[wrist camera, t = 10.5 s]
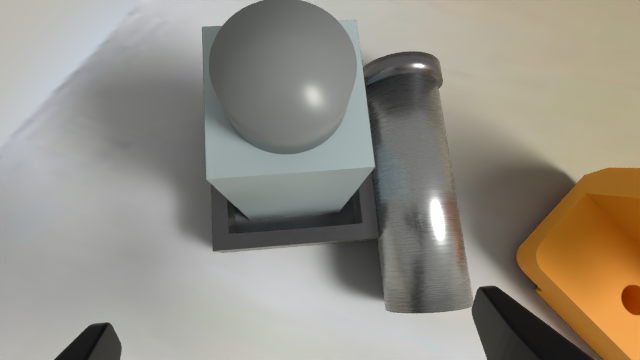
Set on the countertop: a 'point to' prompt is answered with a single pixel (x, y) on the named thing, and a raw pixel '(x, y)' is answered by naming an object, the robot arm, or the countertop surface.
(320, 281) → the countertop surface
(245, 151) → the grey capped bottle
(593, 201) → the bracket
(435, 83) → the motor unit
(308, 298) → the countertop surface
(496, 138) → the countertop surface
